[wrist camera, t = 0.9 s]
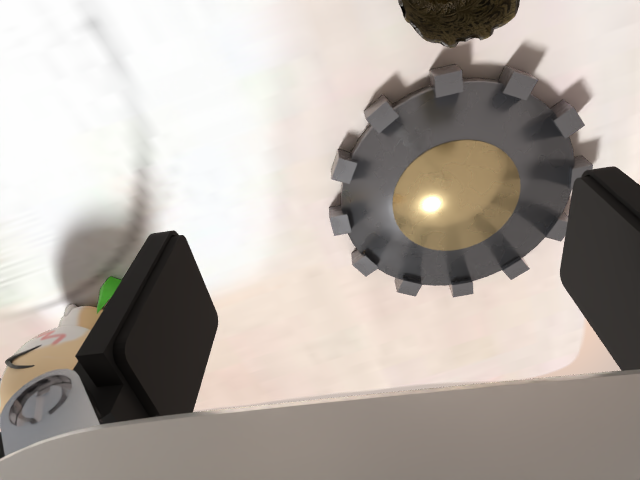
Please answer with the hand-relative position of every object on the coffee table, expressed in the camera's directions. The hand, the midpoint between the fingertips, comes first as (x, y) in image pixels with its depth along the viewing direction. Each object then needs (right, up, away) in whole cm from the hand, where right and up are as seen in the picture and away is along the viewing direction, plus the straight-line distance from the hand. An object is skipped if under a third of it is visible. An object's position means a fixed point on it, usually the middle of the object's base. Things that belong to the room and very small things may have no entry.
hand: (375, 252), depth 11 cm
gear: (+10, +5, +29) cm, 31 cm away
